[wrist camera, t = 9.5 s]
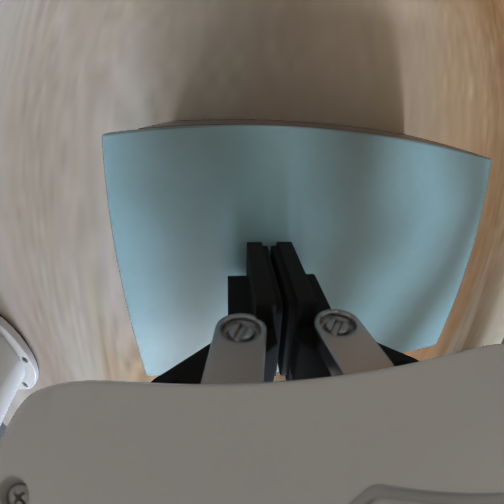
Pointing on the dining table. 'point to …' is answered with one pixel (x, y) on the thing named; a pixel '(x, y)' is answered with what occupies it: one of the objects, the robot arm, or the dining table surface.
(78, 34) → the dining table surface
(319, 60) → the dining table surface
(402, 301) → the light blue flat slab
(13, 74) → the dining table surface
